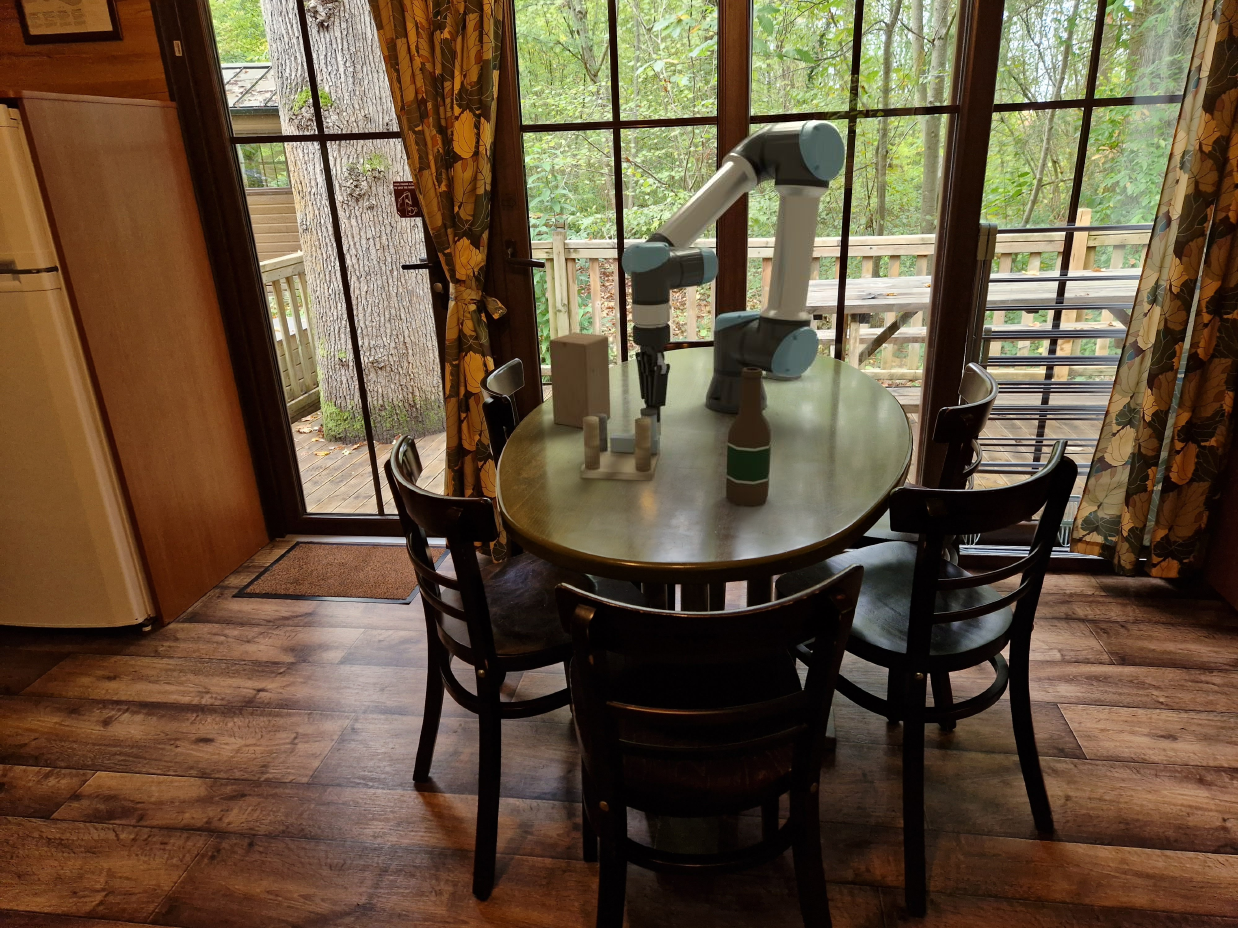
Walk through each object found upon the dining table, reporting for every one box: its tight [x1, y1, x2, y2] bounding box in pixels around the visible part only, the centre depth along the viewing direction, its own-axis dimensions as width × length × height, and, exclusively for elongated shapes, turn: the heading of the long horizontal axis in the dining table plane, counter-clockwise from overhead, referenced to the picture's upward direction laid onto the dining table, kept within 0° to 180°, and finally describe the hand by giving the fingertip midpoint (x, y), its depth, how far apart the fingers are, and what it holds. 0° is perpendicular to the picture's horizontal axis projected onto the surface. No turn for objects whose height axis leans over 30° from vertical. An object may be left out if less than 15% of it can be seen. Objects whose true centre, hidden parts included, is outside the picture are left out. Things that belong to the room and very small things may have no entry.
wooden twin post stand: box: [580, 414, 661, 481], centre depth 156 cm, size 14×14×12 cm
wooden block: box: [548, 331, 611, 429], centre depth 184 cm, size 10×10×20 cm
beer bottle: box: [725, 367, 772, 508], centre depth 137 cm, size 8×8×24 cm
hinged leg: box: [609, 406, 661, 454], centre depth 160 cm, size 3×10×9 cm, turn 79°
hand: (653, 435), depth 164 cm, fingers closed
